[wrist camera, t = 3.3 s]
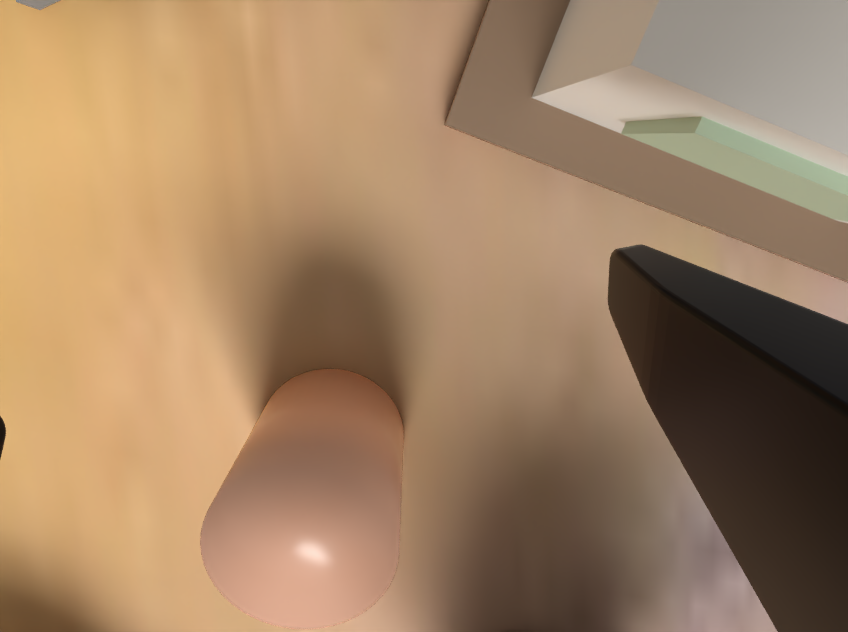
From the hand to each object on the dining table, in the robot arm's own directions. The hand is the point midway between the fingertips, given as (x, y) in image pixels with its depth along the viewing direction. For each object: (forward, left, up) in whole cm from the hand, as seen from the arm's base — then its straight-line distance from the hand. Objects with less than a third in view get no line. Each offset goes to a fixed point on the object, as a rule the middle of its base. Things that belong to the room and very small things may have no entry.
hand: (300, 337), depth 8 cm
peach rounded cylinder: (-1, +7, -11) cm, 13 cm away
